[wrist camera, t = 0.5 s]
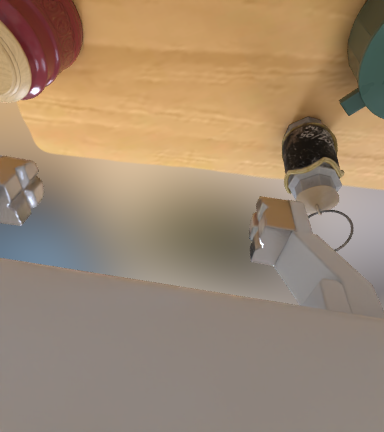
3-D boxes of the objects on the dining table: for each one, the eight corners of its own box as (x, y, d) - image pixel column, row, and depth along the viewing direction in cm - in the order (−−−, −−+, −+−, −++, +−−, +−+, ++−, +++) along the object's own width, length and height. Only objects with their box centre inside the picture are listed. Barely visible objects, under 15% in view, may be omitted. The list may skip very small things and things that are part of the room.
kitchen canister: (5, 47, 45) (-80, 99, 34) (-15, -59, 36) (-143, -35, 24) (84, 77, 47) (29, 137, 36) (86, -15, 37) (11, 27, 26)
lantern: (323, 103, 44) (360, 225, 28) (338, 141, 49) (376, 264, 33) (271, 128, 49) (278, 244, 33) (289, 161, 53) (302, 277, 37)
